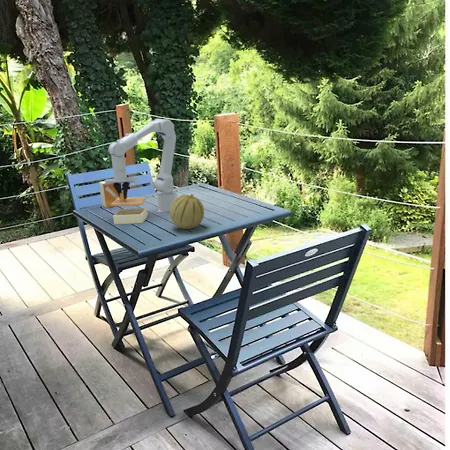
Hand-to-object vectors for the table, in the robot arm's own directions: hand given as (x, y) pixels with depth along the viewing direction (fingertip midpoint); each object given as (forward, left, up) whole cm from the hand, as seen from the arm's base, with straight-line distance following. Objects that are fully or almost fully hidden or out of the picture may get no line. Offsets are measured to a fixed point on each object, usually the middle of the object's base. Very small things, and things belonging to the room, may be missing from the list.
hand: (123, 198), depth 214 cm
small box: (+15, -27, -11) cm, 33 cm away
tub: (-3, +3, -10) cm, 11 cm away
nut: (-6, +1, -10) cm, 11 cm away
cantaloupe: (-32, +17, -11) cm, 37 cm away
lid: (-2, 0, -2) cm, 3 cm away
